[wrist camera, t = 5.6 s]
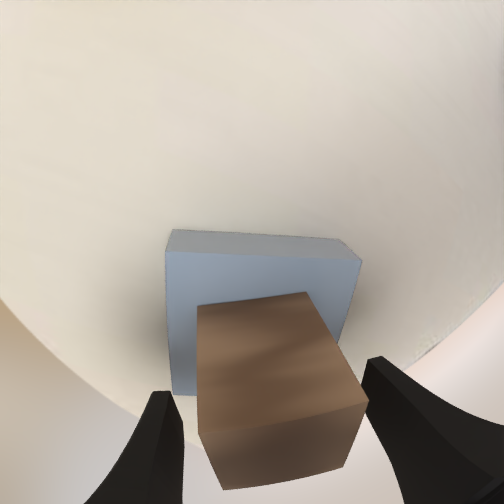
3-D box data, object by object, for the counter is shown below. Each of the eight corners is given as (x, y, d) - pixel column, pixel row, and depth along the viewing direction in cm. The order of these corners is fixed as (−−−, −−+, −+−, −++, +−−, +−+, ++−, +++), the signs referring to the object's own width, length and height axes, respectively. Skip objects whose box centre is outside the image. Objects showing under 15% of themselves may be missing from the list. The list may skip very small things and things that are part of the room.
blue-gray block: (335, 236, 15) (362, 260, 12) (305, 356, 18) (320, 390, 15) (173, 226, 13) (165, 251, 11) (175, 357, 16) (172, 394, 14)
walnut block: (306, 291, 12) (368, 400, 7) (302, 367, 14) (342, 467, 9) (197, 305, 12) (198, 433, 6) (213, 381, 14) (223, 490, 8)
